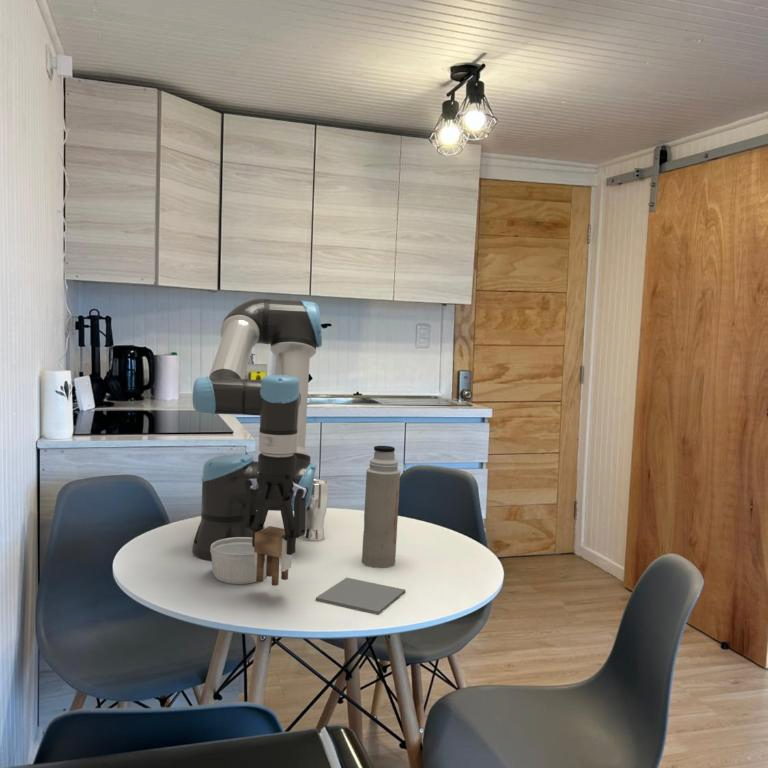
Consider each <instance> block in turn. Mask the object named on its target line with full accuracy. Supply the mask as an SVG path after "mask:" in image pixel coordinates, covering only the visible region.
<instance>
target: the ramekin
mask: <svg viewBox="0 0 768 768" xmlns="http://www.w3.org/2000/svg"><path fill="white" fill-rule="evenodd" d="M210 552H211V555H212V560H211V564H212V565H211V567H212V572H213V575H214V577H215V578H216V580H218V581H219V582H222V583H225V584H231V585H247V584H253V583H258V582H257V581H256V572H257V565H254V564H255V552H254V547H253V546H252V538H248V537H235V538H226V539H221V540H218V541H216V542H214V543H212V545H211V548H210ZM266 564H267V555H265V562H264V574H263V579H264V578H265V577H267V576H266Z"/></svg>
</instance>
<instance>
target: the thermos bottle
mask: <svg viewBox="0 0 768 768" xmlns="http://www.w3.org/2000/svg"><path fill="white" fill-rule="evenodd" d="M395 450H396V449H395V447H394V446H390V445H375V446H373V451H374V452H373V453H374V455H373V458H371V459H370V460H369V463H368V465H369V468H366V473H365V474H366V475H365V476H366V477H365V494H364V495H365V496H364V512H363V513H364V514H363V518H364V519H363V524H364V525H363V534H362V548H361V549H362V552H361V553H362V554H361V563H362V564H363V565H364V564H365V565H364V566H366V565H367V566H368V567H370V566H371V567H370V568H375V567H386V568H390V566H391V567H393V566H395V564H396V557H397V556H396V555H397V536H398V519H399V516H398V515H399V501H400V486H401V485H400V483H401V480H400V479H401V471H400V469H398V467H399V461H398V460H397V459H395V456H396V455H395ZM367 566H366V567H367Z"/></svg>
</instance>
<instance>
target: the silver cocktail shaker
mask: <svg viewBox="0 0 768 768" xmlns="http://www.w3.org/2000/svg"><path fill="white" fill-rule="evenodd" d="M328 503H329V482H328V480H325V479H317V478H314V482H313V488H312V493H311V498H310V503H309V506H308V508H307V509H306V510H305V534H304V535H302V536H300V537H301V539H302V538H303V540H304V539H305V540H304V541H307V540H311V541H310V542H319V540H320V541H323V540H324V539H325V531H324V525H325V524H324V523H325V519H326V514H327V513H326V512H327V509H328Z"/></svg>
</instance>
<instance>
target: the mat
mask: <svg viewBox="0 0 768 768" xmlns="http://www.w3.org/2000/svg"><path fill="white" fill-rule="evenodd" d="M405 593H406V589H404V588H399V587H394V586H390V585H385V584H379V583H375V582H370V581H366V580H361V579H357V578H351V577H345V578H344V579H341V581H339V582H337V583H336V584H334V585H333V586H331V587H330V588H328V589H326V590H324V592H322V593H321V594H319V595H317V596H316V597H315V601H316V602H320V603H325V604H328V605H329V604H330V605H334V606H338V607H343V608H347V609H351V610H352V609H353V610H357V611H360V612H365V613H368V614H369V613H370V614H374V615H380V614H381V613H382V612H384V611H385V610H387V608H388V607H390V606H391V605H392V604H394V602H396V601H397V600H398V599H399V598H401V597H402V596H403V595H405ZM402 594H403V595H402ZM401 595H402V596H401ZM400 596H401V597H400ZM396 599H397V600H396ZM395 600H396V601H395ZM390 604H391V605H390ZM389 605H390V606H389ZM383 610H384V611H383Z"/></svg>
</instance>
